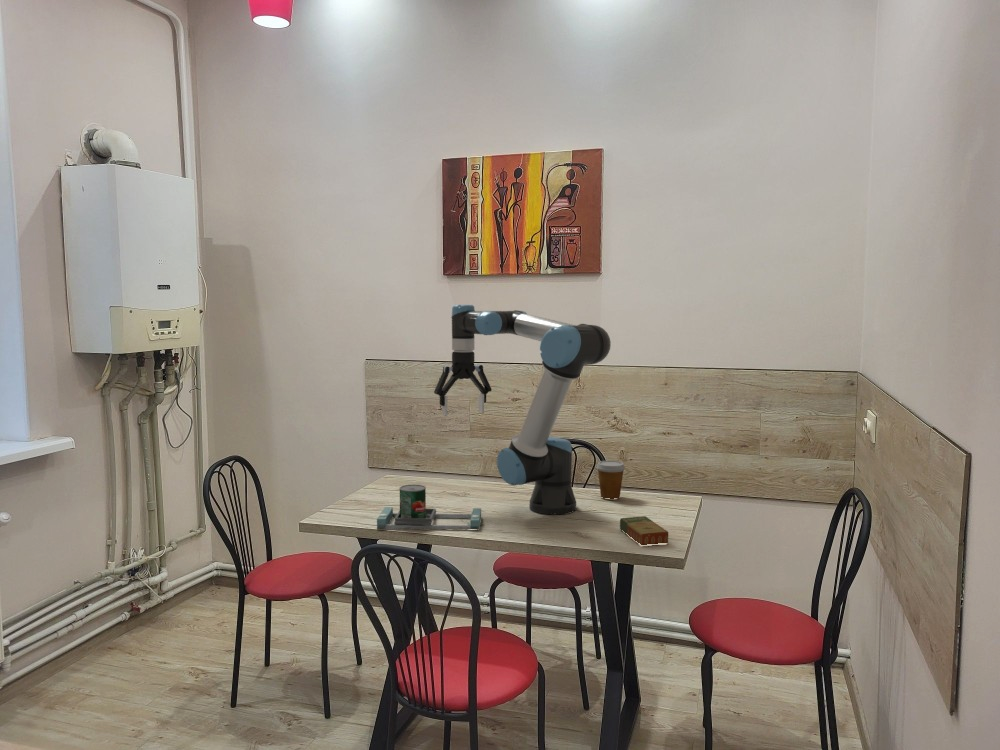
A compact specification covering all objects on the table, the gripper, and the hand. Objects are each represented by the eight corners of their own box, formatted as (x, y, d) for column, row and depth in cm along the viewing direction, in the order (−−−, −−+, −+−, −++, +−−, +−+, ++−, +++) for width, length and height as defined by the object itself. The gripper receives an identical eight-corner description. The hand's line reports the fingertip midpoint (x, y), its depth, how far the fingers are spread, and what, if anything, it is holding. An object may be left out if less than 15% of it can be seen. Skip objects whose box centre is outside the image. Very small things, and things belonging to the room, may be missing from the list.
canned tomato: (402, 519, 236) (402, 484, 234) (427, 519, 235) (427, 484, 234) (397, 526, 228) (397, 490, 226) (423, 527, 227) (423, 491, 226)
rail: (481, 517, 237) (481, 514, 237) (478, 530, 224) (478, 526, 224) (384, 516, 238) (384, 512, 238) (377, 528, 225) (377, 524, 225)
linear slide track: (481, 517, 237) (481, 507, 237) (478, 530, 224) (478, 519, 224) (384, 516, 238) (384, 506, 238) (377, 528, 225) (376, 517, 225)
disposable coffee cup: (626, 501, 256) (626, 466, 255) (597, 501, 256) (598, 466, 255) (622, 494, 266) (622, 460, 264) (594, 494, 266) (595, 460, 265)
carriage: (436, 512, 237) (436, 507, 237) (430, 524, 225) (430, 519, 224) (401, 511, 238) (401, 507, 238) (394, 524, 225) (394, 519, 225)
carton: (640, 548, 210) (640, 533, 210) (619, 531, 226) (619, 516, 225) (668, 546, 212) (669, 531, 212) (645, 529, 228) (645, 514, 227)
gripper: (491, 349, 265) (491, 410, 267) (424, 351, 253) (424, 415, 255) (501, 350, 258) (501, 412, 260) (433, 353, 246) (433, 418, 249)
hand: (463, 414), depth 258 cm, fingers open, 13 cm apart
